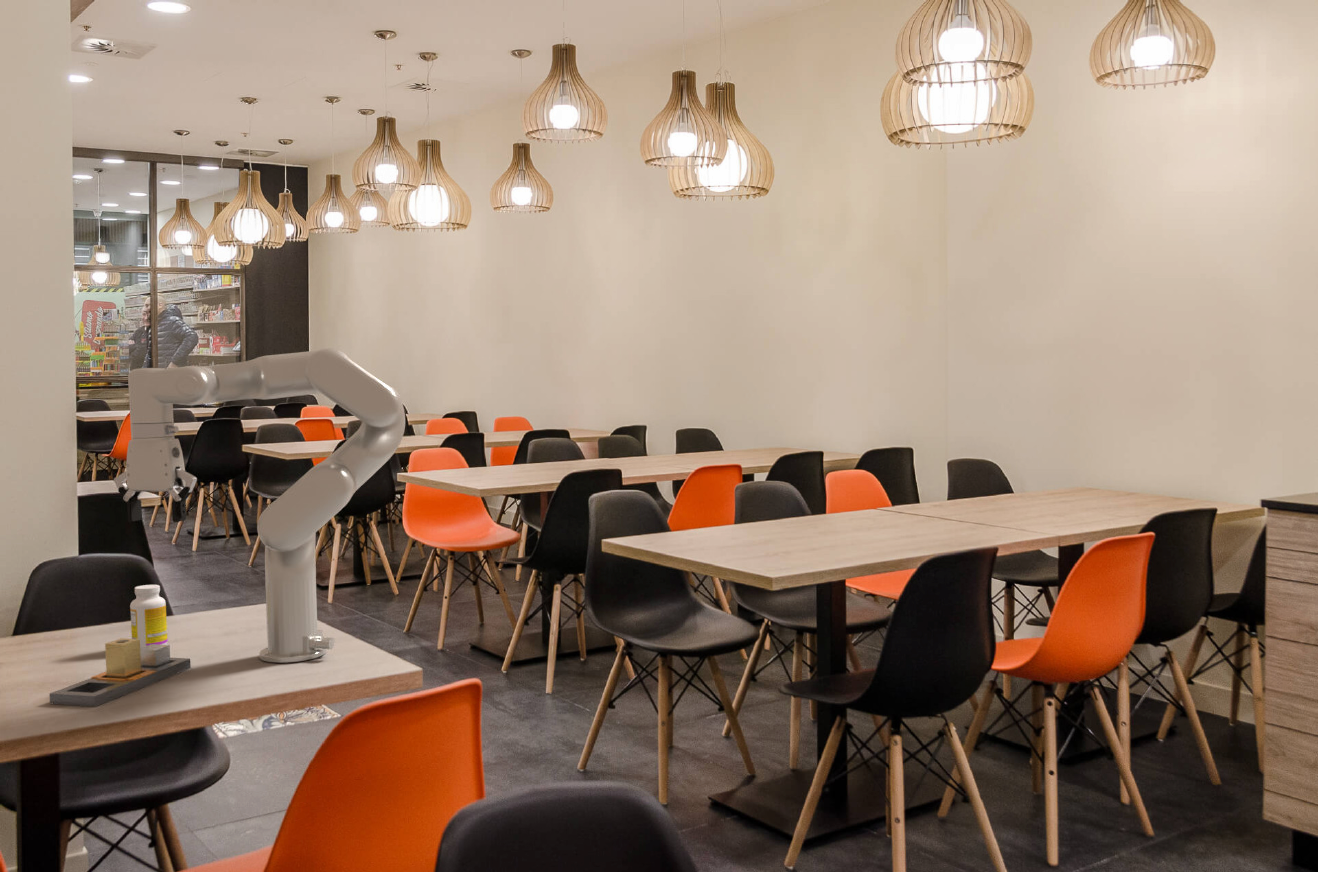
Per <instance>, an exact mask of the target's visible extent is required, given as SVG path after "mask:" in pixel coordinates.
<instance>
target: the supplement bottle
mask: <svg viewBox="0 0 1318 872" xmlns="http://www.w3.org/2000/svg"><path fill="white" fill-rule="evenodd" d="M160 591H161V586H160V585H159V584H145V585H144V584H143V585H137V586H135V587H134V594H135V596H136V598H135V599H133V600H132V601H131V602H130V605H129V608H130V627H131V629H130V630H131V639H140V648H142V647H145V646H148V645H151V644H157V645H169V642H168V623H167V622H168V621H167V605H166V603H167V602H166V600H165V598H163V597H161V596H160Z"/></svg>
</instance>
